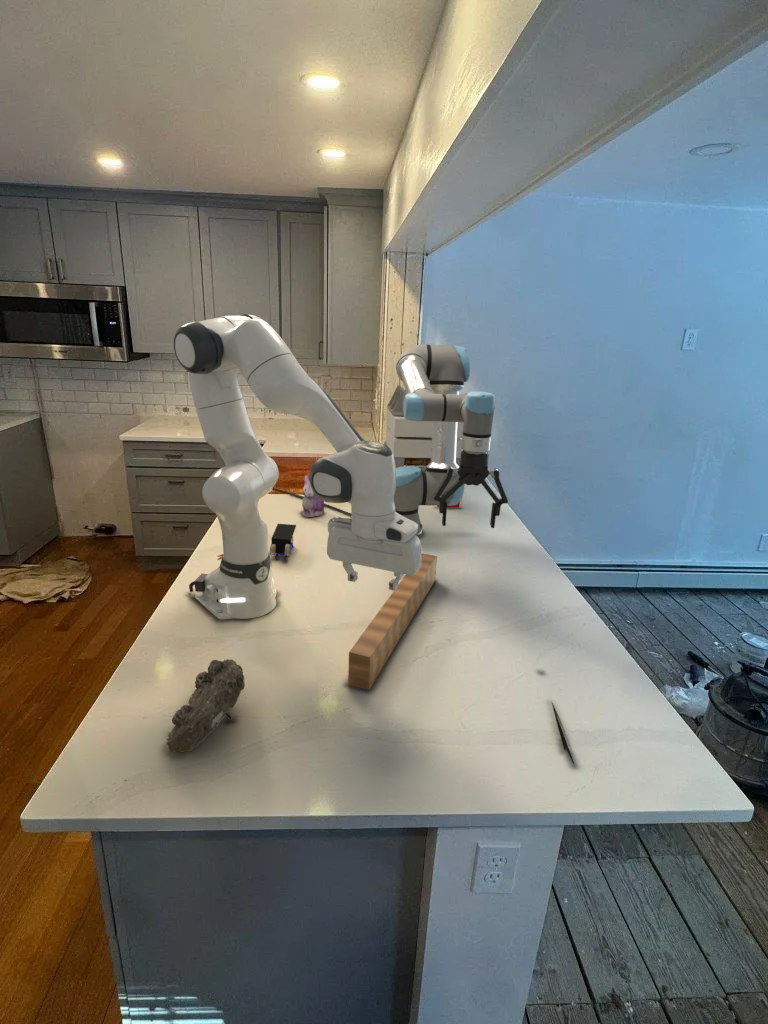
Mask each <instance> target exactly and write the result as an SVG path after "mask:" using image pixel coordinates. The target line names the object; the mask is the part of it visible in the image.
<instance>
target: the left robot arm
mask: <svg viewBox="0 0 768 1024" xmlns="http://www.w3.org/2000/svg"><path fill="white" fill-rule="evenodd" d="M173 350H174V355H175V357H176V360H177V361H178V363H179V365H180V366H182V368H183V369H184V370H185V371H186V372H188V377H189V378H188V379H189V384H190V385H189V386H190V391H191V395H192V400H193V404H194V408H195V411H196V414H197V417H198V420H199V424H200V427H201V430H202V435H203V437H204V439H205V442H206V443H207V444H208V445H209V446H211V447H213V449H215V450H216V452H217V453H218V455H219V456H220V457H221V459H222V462H223V463H224V466H222V467H220V468H219V469H217V470H215V471H214V472H213V473H212V474H211V475H210V477H209V478H208V479H207V480H206V481H205V482H204V484H203V486H202V490H201V491H202V499H203V502H204V504H205V505H206V507H207V508H208V509H209V510H210V511H211V512H212V513H214V514H215V515H216V517H217V520H218V523H219V525H220V530H221V539H222V551H223V552H222V554H220V555H219V554H218V555H217V559H216V560H217V561H219V560H220V564H219V566H218V567H216V568H215V569H214V570H213V569H212V571H210V572H209V573H201V574H200V575H199V576H198V577H197V578H196V579H195V580H194V581H191V582H190V583H189V585H188V589H189V592H190V593H193V592H194V591H195V594H194V598H195V599H196V601H198V603H200V604H201V605H202V606H203V607H205V609H207V611H209V612H210V613H211V614H212V615H213V616H214V617H216V618H217V619H218V620H230V619H241V620H245V619H255V618H259V617H262V616H265V615H267V614H269V613H270V612H272V611H273V610H274V609H275V608H276V606H277V600H276V597H277V595H278V593H277V592H278V591H277V589H276V588H275V586H274V578H273V571H272V568H271V562H272V559H271V555H270V552H269V531H268V530H269V529H268V525H267V524H266V522H264V520H263V519H262V518H261V516H260V511H259V501H260V500H261V499H262V498H263V497H265V496H266V495H268V494H269V493H270V492H271V491H273V490H272V488H275V485H276V484H277V482H278V479H279V476H280V472H279V468H278V465H277V463H276V462H275V460H274V459H273V458H272V457H271V456H269V455H268V454H267V453H266V452H265V450H264V449H263V447H262V444H260V442H259V440H258V438H257V436H256V434H255V431H254V430H253V426H252V424H251V420H250V417H249V413H248V409H247V407H246V403H245V400H244V396H243V393H242V389H241V387H240V383H239V379H238V377H239V372H240V373H241V374H242V376H243V377H244V379H245V381H246V383H247V384H248V386H249V388H250V389H251V391H252V393H253V394H254V395H255V397H256V398H257V400H258V401H259V402H260V403H261V404H262V405H263V406H264V407H265V408H267V409H268V410H271V411H273V412H276V413H279V414H284V415H291V416H295V417H299V418H301V419H305V420H306V421H309V422H311V423H312V424H314V425H315V426H316V427H317V429H319V431H320V432H321V433H322V435H323V436H324V437H325V438H326V439H327V441H328V442H329V443H330V445H331V446H332V447H333V449H334V450H335V451H336V452H334V453H331V454H327V455H326V456H323V457H320V458H319V459H317V460H315V461H314V462H313V463H312V465H311V467H310V470H309V476H308V477H309V481H310V485H311V488H312V490H313V492H314V494H315V495H316V496H317V497H318V498H319V499H321V500H322V501H324V503H327V504H328V503H329V504H346V503H348V504H350V508H351V511H350V513H351V516H350V518H348V517H341V516H334V517H332V518H330V519H329V520H328V522H327V532H328V536H327V542H326V543H327V544H326V555H327V556H328V558H329V559H330V560H332V561H338V562H342V567H343V569H344V571H345V572H346V574H347V581H348V582H351V583H355V582H356V581H358V577H359V576H358V575H359V573H358V571H356V570H354V567H353V566H352V565H353V564H354V565H357V566H358V565H359V566H362V567H368V568H373V569H378V570H382V571H387V572H393V577H395V578H394V579H393V578H392V579H391V580H390V581H389V582H388V590H389V591H393V592H394V591H396V590H397V589H398V586H399V583H400V581H401V580H402V579H401V578H403V576H404V575H414V574H415V573H416V572H417V571H418V570H419V569H420V568H421V563H422V554H421V553H422V545H421V540H420V537H417V536H416V535H415V534H416V533H417V531H418V524H417V523H416V522H414V521H412V520H410V519H407V518H406V517H404V516H402V515H400V514H398V513H397V512H395V503H394V494H395V491H396V465H395V458H394V455H393V452H392V450H391V449H390V448H389V447H388V446H386V445H385V444H384V443H382V442H379V441H375V440H365V439H364V438H363V437H362V436H361V435H360V433H358V431H357V430H356V428H355V427H354V426H353V425H352V423H351V422H350V421H349V419H348V418H347V417H346V416H345V414H344V413H343V412H342V410H341V409H340V408H339V406H338V405H337V404H336V402H335V401H334V400H333V399H332V397H331V396H330V395H329V394H328V393H327V392H326V391H325V389H323V388H322V387H321V386H319V385H318V384H317V383H316V382H315V381H314V380H313V379H312V378H311V376H310V375H309V374H308V373H307V372H306V370H305V369H304V368H303V367H302V366H301V365H300V363H299V362H298V360H297V358H296V357H295V355H294V354H293V352H292V351H291V349H290V348H289V346H288V345H287V344H286V342H285V341H284V339H283V338H282V337H281V336H280V335H279V333H278V332H277V331H276V330H275V329H274V328H273V327H272V325H271V324H269V323H268V322H267V321H266V320H264V319H263V318H262V317H259V316H257V315H253V314H247V313H246V314H244V313H243V314H240V315H221V316H220V315H219V316H216V317H214V318H213V317H212V318H209V319H203V320H200V321H191V322H188V323H186V324H183V325H181V326H180V327H179V328H177V330H176V331H175V333H174V337H173Z"/></svg>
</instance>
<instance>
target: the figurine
mask: <svg viewBox="0 0 768 1024" xmlns="http://www.w3.org/2000/svg"><path fill="white" fill-rule="evenodd" d="M301 493H302V496H303V497H304V498H303V499H302V503H301V505H302V515H303V517H307V518H313V517H319V516H322V515H323V514H324V512H325V506H324V503H325V502H324V501H322V500H321V499H319V498H318V497H317V496H316V495H315V494H314V492H313V490H312V488H311V485H310V481H309V476H308V475H307V474H306V475H305V476H304V486H303V488H302V492H301Z"/></svg>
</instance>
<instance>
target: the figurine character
mask: <svg viewBox="0 0 768 1024" xmlns="http://www.w3.org/2000/svg"><path fill="white" fill-rule="evenodd" d="M296 528H297V524H290V523H289V524H288V523H277V525H276V526H275V529H274V531H273V533H272V536H271V542H270V547H269V554H270V556H274V559H275V560H278V558H279V556H281V557H282V556H284V557H283V560H287V559H288V556H290V555H291V554H292V553H291V551H293V550H294V548H295V545H294V533H295V531H296Z"/></svg>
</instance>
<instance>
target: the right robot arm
mask: <svg viewBox="0 0 768 1024" xmlns="http://www.w3.org/2000/svg"><path fill="white" fill-rule="evenodd" d="M469 356H470V355H469V352H468V350H467V349H466V348H465V347H464V346H461V345H454V344H426V343H425V344H424V343H421V344H420V343H419V344H416V345H413V346H410V347H408V348H407V349H406V350H404V351H403V352H402V353H401V354H400V356H399V357H398V358H397V361H396V365H395V370H396V374H397V377H398V378H399V380H400V381H401V382H402V383H403V386H404V390H406V393H407V394H406V395H405V398H404V409H403V410H404V417H405V419H406V420H411V421H417V422H418V421H433V422H432V448H431V462H430V463H429V464H428V465H427V466H425V467H426V468H425V470H426V471H422V469H421V468H420V466H407V465H404V466H403V467H398V468H396V491H395V494H394V503H395V512H397V513H398V514H400V515H402V516H404V517H406V518H407V519H410V520H412V521H414V522H416V523H417V524H418V531H417V533H416V534H415V535H416V536H417V537H418V538H420V537H421V536H422V535H423V529H424V527H423V524H422V523H421V518H420V515H419V507H420V506H437V505H439V507H438V511H439V514H442V517H441V525H442V526H443V527H446V525H447V523H446V522H447V514H448V513H447V511H448V508H447V506H451V505H457V504H458V503H459V502H460V503H461V501H462V498H463V495H464V493H465V492H464V491H465V485H466V486H479V485H482V487H483V488H484V489H485V491H486V492H487V494H488V495H489V496H490V497H491V499H492V500H493V501H494V502H492V505H491V513H490V514H491V515H490V521H489V525H490V528H491V529H494V528H495V526H496V525H495V524H496V519H497V518H496V517H499V516H500V514H501V507H502V505H504V504H508V503H509V499H508V498H507V494H506V492H505V489H504V487H503V484H502V482H501V479H500V471H499V469H497V468H493V469H489V461H490V459H489V458H490V453H489V452H490V449H491V440H492V439H491V438H492V431H493V423H494V415H495V414H494V413H495V409H496V406H495V398H496V397H495V394H493V393H492V392H487V391H469V392H465V393H461V394H460V391H462V389H463V388H464V387H465V383H466V382H468V381H470V380H469V379H470V374H471V362H470V357H469ZM458 422H464V425H463V436H462V438H461V440H462V446H461V448H462V451H461V457H460V466H458V465H457V464H456V447H457V425H458ZM489 475H490V477H491V478H492V479H493V480H494V483H495V485H496V488H497V491H498V493H499V495H500V498H499V497H498V496H497V494H496V493H495V492H494V490H493V489H492V487H491V486H490V484H489V483H488V482H487V481H486V479H487V477H488V476H489ZM271 491H275V492H279V493H282V494H286V495H290V496H294V497H296V498H298V499H299V498H300V499H302V500H303V498H304V495H300V494H297V493H293V492H291V491H290V492H289V491H287V490H283V489H279V488H275V487H273V488H272V490H271ZM324 507H326V508H329V509H331V510H334V511H337V512H340V513H342V514H345V515H348V516H350V517H351V512H348V511H346V510H343V509H341V508H338V507H336V506H332V505H330V504H328V503H326V502H324Z"/></svg>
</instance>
